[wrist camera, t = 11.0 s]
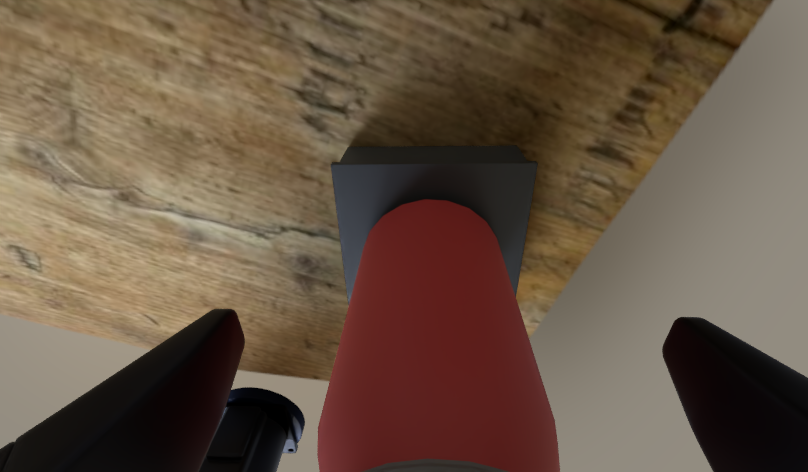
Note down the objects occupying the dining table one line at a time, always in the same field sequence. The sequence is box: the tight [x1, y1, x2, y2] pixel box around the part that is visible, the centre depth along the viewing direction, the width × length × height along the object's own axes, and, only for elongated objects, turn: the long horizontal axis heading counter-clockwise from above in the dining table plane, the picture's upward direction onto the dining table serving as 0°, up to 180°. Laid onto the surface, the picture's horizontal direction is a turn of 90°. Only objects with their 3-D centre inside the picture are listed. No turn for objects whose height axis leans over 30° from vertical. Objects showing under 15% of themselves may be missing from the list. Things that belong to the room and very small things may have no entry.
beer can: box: [318, 199, 560, 472], centre depth 14 cm, size 7×7×12 cm
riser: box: [331, 146, 538, 305], centre depth 20 cm, size 9×9×3 cm
